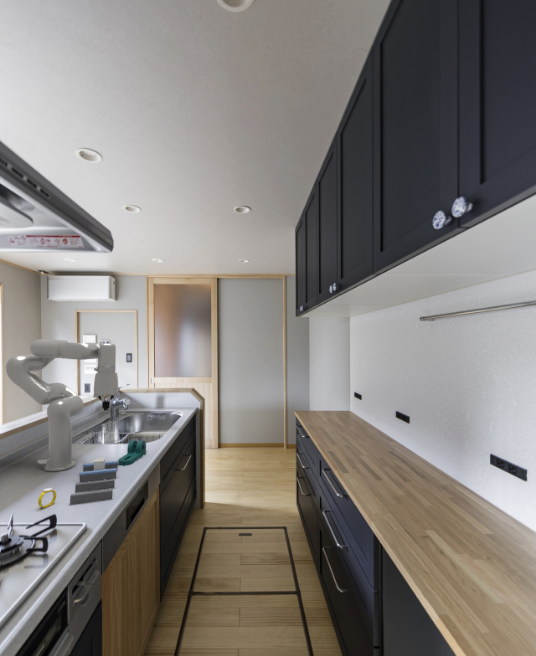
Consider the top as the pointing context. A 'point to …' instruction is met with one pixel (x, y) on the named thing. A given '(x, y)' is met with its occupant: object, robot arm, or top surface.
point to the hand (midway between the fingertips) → (105, 409)
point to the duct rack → (95, 483)
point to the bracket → (133, 452)
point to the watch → (44, 494)
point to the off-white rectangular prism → (99, 463)
